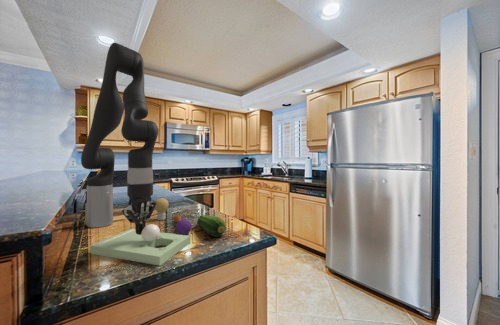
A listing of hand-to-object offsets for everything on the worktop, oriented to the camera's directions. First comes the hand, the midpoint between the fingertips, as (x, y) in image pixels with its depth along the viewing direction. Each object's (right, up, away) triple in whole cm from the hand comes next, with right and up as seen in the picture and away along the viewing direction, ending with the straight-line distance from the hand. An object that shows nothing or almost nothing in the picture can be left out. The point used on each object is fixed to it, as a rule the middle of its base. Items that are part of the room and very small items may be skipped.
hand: (140, 233), depth 71 cm
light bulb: (-6, -4, +31) cm, 31 cm away
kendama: (+7, -5, +19) cm, 21 cm away
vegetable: (+19, -5, +17) cm, 26 cm away
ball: (+4, 0, -1) cm, 4 cm away
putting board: (+1, -5, 0) cm, 5 cm away
